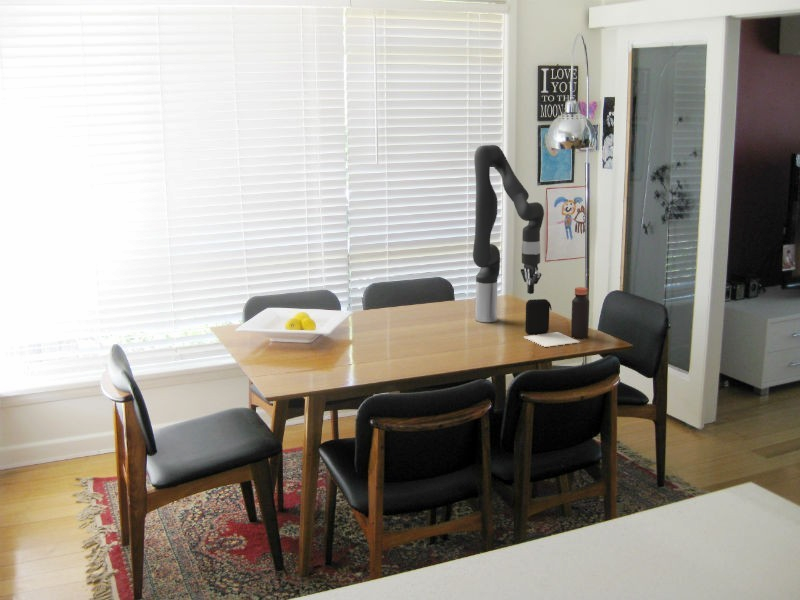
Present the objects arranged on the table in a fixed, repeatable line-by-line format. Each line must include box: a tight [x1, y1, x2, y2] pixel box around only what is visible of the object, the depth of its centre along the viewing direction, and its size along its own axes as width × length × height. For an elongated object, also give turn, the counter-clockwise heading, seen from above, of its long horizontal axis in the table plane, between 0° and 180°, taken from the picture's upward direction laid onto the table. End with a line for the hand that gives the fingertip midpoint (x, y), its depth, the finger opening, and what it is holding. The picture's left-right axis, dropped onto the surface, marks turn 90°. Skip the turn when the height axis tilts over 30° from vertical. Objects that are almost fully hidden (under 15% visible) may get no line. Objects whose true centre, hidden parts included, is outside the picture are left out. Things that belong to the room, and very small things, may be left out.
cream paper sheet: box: [523, 331, 581, 348], centre depth 336 cm, size 16×16×1 cm
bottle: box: [570, 286, 590, 340], centre depth 338 cm, size 7×7×20 cm
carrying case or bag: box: [524, 298, 552, 336], centre depth 343 cm, size 11×3×15 cm, turn 96°
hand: (530, 293), depth 347 cm, fingers closed
